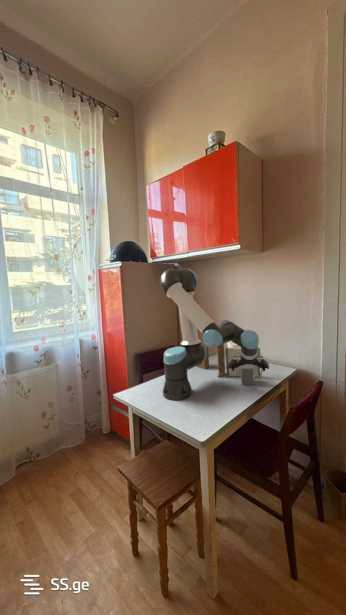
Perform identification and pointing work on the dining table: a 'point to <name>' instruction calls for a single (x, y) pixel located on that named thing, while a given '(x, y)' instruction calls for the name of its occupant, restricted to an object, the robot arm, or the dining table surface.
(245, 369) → the dark grey upright block
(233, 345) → the foam cup
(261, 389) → the dining table surface
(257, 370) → the door
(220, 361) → the door post
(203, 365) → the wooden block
